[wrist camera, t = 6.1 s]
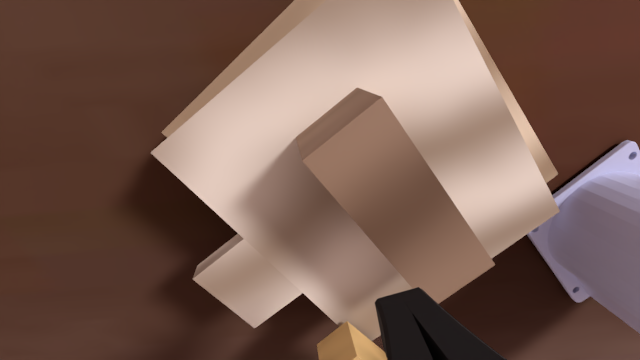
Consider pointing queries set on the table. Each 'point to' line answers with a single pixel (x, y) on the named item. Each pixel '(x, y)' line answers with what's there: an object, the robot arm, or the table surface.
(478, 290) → the table surface
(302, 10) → the wooden tray
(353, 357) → the light wooden bar
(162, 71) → the table surface
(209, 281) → the lid
